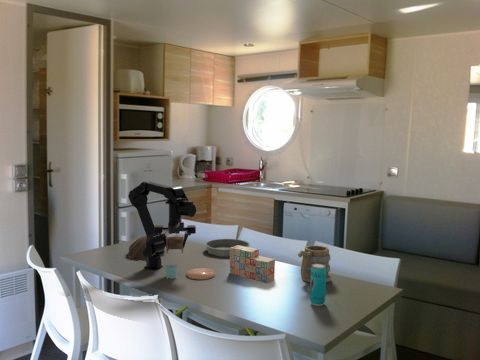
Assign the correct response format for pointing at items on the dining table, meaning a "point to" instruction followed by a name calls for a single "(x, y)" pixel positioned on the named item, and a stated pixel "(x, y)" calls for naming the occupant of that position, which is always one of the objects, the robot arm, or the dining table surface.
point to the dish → (201, 273)
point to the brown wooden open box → (175, 241)
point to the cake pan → (218, 246)
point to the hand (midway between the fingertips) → (175, 247)
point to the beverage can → (318, 284)
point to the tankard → (314, 261)
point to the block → (170, 271)
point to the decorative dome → (139, 248)
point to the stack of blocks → (251, 264)
